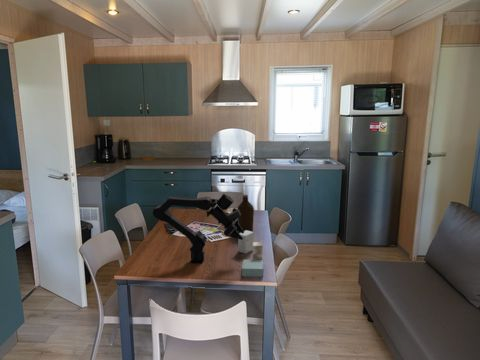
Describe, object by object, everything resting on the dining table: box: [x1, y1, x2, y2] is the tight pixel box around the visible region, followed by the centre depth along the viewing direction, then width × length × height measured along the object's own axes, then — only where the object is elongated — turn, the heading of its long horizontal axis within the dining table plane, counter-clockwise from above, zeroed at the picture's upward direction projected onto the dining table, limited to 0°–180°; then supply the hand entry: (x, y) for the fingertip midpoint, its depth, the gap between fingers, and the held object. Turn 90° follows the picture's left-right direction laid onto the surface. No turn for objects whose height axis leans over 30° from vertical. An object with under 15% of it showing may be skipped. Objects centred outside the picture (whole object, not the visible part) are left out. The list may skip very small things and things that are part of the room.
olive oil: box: [237, 194, 255, 233], centre depth 221 cm, size 11×11×25 cm
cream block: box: [252, 241, 264, 261], centre depth 177 cm, size 5×5×10 cm
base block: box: [241, 259, 264, 278], centre depth 167 cm, size 10×10×4 cm
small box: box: [237, 230, 255, 254], centre depth 193 cm, size 8×6×10 cm
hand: (243, 235), depth 176 cm, fingers open, 9 cm apart
